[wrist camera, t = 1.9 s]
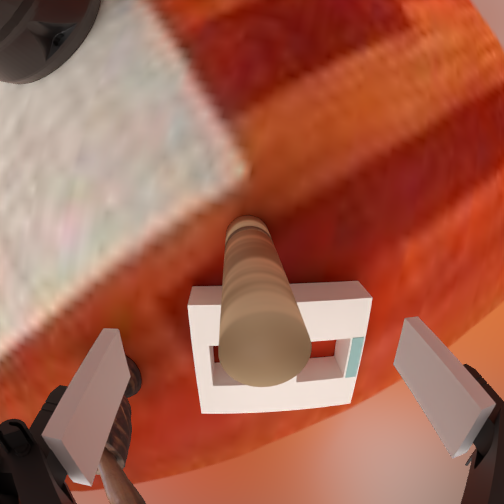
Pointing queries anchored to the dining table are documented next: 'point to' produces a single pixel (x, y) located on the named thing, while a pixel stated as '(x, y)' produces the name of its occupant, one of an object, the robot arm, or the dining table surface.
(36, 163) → the dining table surface
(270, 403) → the board
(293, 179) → the dining table surface
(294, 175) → the dining table surface
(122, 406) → the mortar and pestle
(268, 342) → the leg peg
